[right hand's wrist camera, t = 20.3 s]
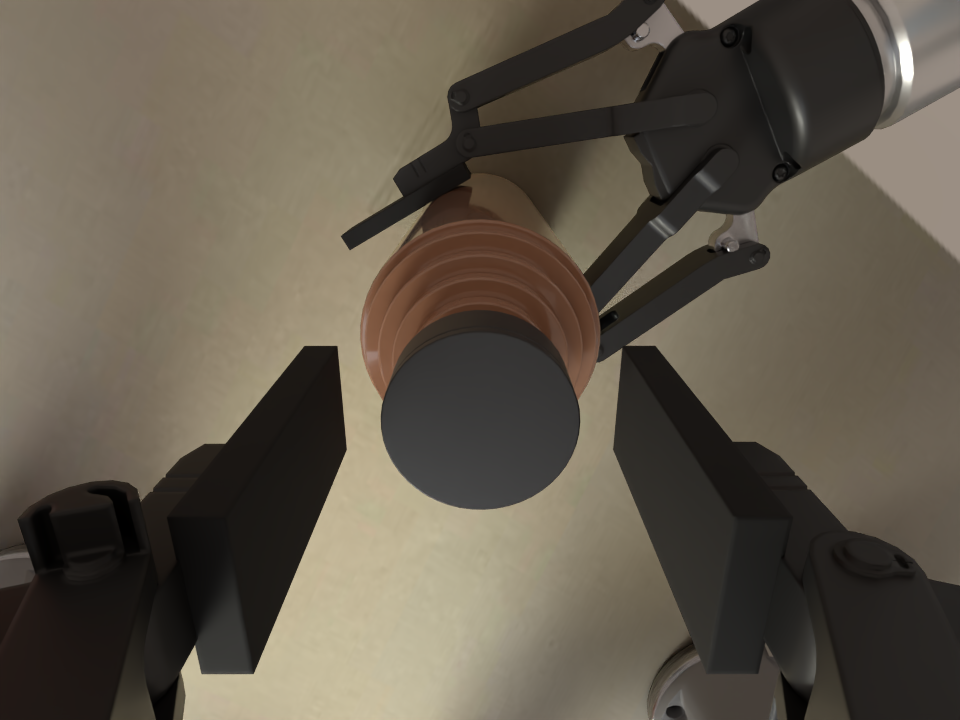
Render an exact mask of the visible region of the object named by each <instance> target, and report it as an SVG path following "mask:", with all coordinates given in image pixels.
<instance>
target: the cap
mask: <svg viewBox="0 0 960 720" xmlns="http://www.w3.org/2000/svg"><path fill="white" fill-rule="evenodd" d="M579 429H580V410H579V405H578V400H577V396H576V394H575V391H574V388H573V385H572V382H571V380H570V377H569V374H568V371H567V369H566V366H565V363H564V361H563V359H562V357H561V355H560V353H559V351H558V350H557V348H556V347H555V346H554V344H553V343H552V342H551V341H550V340H549V339H548V338H547V337H546V335H545V334H544V333H542V332H541V331H540V330H538V329H537V328H536V327H535V326H533V325H531V324H530V323H528V322H526V321H525V320H522V319H520V318H518V317H515V316H513V315H510V314H506V313H503V312H497V311H491V310H471V311H463V312H459V313H455V314H451V315H448V316H446V317H443V318H440V319H439V320H437V321H435V322H433V323H431V324H429V325H428V326H427V327H425V328H424V329H422V330H421V331H420V332H419V333H418V334H416V335H415V336H414V337H413V338H412V339H411V341H410V342H409V343H408V344H407V345H406V347H405V348H404V350H403V351H402V353H401V355H400V356H399V358H398V361H397V363H396V365H395V368H394V370H393V373H392V376H391V379H390V382H389V384H388V387H387V390H386V393H385V396H384V400H383V404H382V411H381V430H382V436H383V441H384V444H385V447H386V450H387V452H388V454H389V456H390V458H391V460H392V462H393V464H394V465H395V467H396V468H397V469H398V471H399V472H400V473H401V474H402V476H403V477H404V478H405V479H406V480H407V481H408V482H409V483H410V484H411V485H413V486H414V487H415V488H416V489H418V490H419V491H421V492H422V493H424V494H425V495H427V496H429V497H431V498H433V499H435V500H437V501H439V502H442V503H445V504H447V505H451V506H455V507H459V508H466V509H480V510H485V509H496V508H501V507H506V506H510V505H513V504H516V503H519V502H522V501H524V500H526V499H528V498H531V497H532V496H534V495H536V494H537V493H539V492H541V491H542V490H543V489H544V488H546V487H547V486H548V485H550V484H551V483H552V482H553V481H554V480H555V479H556V478H557V477H558V476H559V474H560V473H561V472H562V471H563V469H564V468H565V467H566V465H567V463H568V462H569V460H570V458H571V456H572V454H573V452H574V449H575V447H576V444H577V440H578V436H579Z"/></svg>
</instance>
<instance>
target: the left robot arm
mask: <svg viewBox="0 0 960 720" xmlns="http://www.w3.org/2000/svg"><path fill="white" fill-rule="evenodd" d="M664 1H665V0H623V1H622V2H621V3H620V4H619V5H618V6H617V7H616V8H615V9H613V10H612V11H611V12H610V13H609V14H608V15H606V16H604V17H602V18H600V19H597V20H595V21H593V22H591V23H588V24H586V25H584V26H582V27H579V28H577V29H575V30H573V31H570V32H568V33H566V34H564V35H561V36H559V37H557V38H555V39H553V40H550V41H548V42H546V43H544V44H541V45H539V46H537V47H535V48H532V49H530V50H528V51H526V52H523V53H521V54H519V55H517V56H515V57H512V58H510V59H508V60H506V61H503V62H501V63H499V64H497V65H494V66H492V67H490V68H488V69H485V70H483V71H481V72H479V73H476V74H474V75H472V76H470V77H468V78H465V79H463V80H461V81H459V82H456V83H455V84H453V85H452V86H451V87H450V89H449V91H448V96H447V98H448V103H449V108H450V114H451V119H452V132H451V134H450V136H449V138H448V139H447V140H446V141H445V142H443V143H442V144H440V145H438V146H437V147H435V148H433V149H432V150H430V151H429V152H427V153H425V154H424V155H422V156H420V157H419V158H417V159H416V160H414V161H412V162H411V163H409V164H407V165H406V166H404V167H402V168H401V169H400V170H399V171H398V172H397V174H396V175H395V177H394V178H393V180H394V181H395V183H396V185H397V186H398V188H399V190H400V191H401V193H402V195H403V197H402V198H400V199H398V200H397V201H395V202H393V203H392V204H390V205H388V206H387V207H385V208H383V209H382V210H380V211H378V212H377V213H375V214H373V215H372V216H370V217H368V218H367V219H365V220H363V221H362V222H360V223H358V224H357V225H355V226H354V227H352V228H351V229H349V230H348V231H347V232H345V233H344V234H343V235H342V236H341V237H342V239H343V240H344V242H345V243H346V245H347V247H348V248H349V250H351V249H353V248H354V247H356V246H358V245H359V244H361V243H363V242H365V241H366V240H368V239H370V238H371V237H373V236H375V235H376V234H378V233H380V232H381V231H383V230H385V229H386V228H388V227H390V226H391V225H393V224H395V223H396V222H398V221H400V220H401V219H403V218H405V217H407V216H408V215H410V214H412V213H413V212H415V211H417V210H418V209H420V208H422V207H423V206H425V205H427V204H428V203H430V202H432V201H433V200H435V199H437V198H438V197H440V196H442V195H444V194H445V193H447V192H449V191H450V190H452V189H454V188H455V187H457V186H459V185H460V184H462V183H464V182H465V181H467V180H469V179H470V178H471V173H470V171H469V169H468V167H467V165H466V163H465V162H466V161H467V160H469V159H471V158H473V157H479V156H486V155H492V154H499V153H505V152H512V151H518V150H525V149H531V148H538V147H544V146H551V145H557V144H564V143H570V142H577V141H583V140H590V139H596V138H603V137H609V136H618V135H625V134H626V135H625V136H624V139H625V141H626V143H627V145H628V147H629V150H630V152H631V153H632V154H633V155H634V156H635V157H636V159H637V160H638V161H639V162H640V163H641V167H642V173H643V179H644V183H645V185H646V187H647V189H648V191H649V194H650V195H649V197H648V198H647V199H646V200H645V201H644V202H643V203H642V205H641V206H640V207H639V209H638V211H637V213H636V215H635V216H634V218H633V219H632V220H631V221H630V222H629V223H628V224H627V226H626V227H625V228H624V229H623V230H622V231H621V232H620V233H619V235H618V236H617V237H616V238H615V239H614V240H613V241H612V243H611V244H610V245H609V246H608V247H607V248H606V249H605V250H604V252H603V253H602V254H601V255H600V256H599V257H598V258H597V260H596V261H595V262H594V263H593V264H592V265H591V266H590V267H589V269H588V270H587V271H586V272H585V273H584V274H583V275H584V277H585V278H586V280H587V282H588V283H589V286H590V288H591V291H592V293H593V295H594V298H595V301H596V305H597V309H598V312H600V311H601V310H602V309H603V308H604V307H605V306H606V304H607V303H608V302H609V301H610V300H611V299H612V298H613V297H614V296H615V295H616V293H617V292H618V291H619V290H620V289H621V288H622V287H623V286H624V285H625V284H626V283H627V281H628V280H629V279H630V278H631V277H632V276H633V275H634V274H635V273H636V272H637V270H638V269H639V268H640V267H641V266H642V265H643V264H644V263H645V262H646V261H647V260H648V258H649V257H650V256H651V255H652V254H653V253H654V252H655V251H656V250H657V249H658V247H659V246H660V245H661V244H662V243H663V242H664V241H665V240H666V239H667V238H668V237H670V236H673V235H674V234H675V233H677V232H678V231H679V230H680V229H681V228H682V227H683V225H684V224H685V223H686V222H687V221H688V220H689V219H690V218H691V217H692V216H693V215H694V213H695V212H696V211H703V212H712V213H721V214H726V220H725V222H724V224H723V225H722V226H721V227H720V228H719V229H717V230H716V231H714V232H713V233H712V234H711V235H710V237H709V240H708V245H705V246H703V247H701V248H699V249H696V250H694V251H693V252H691V253H690V254H688V255H686V256H685V257H683V258H682V259H681V260H679V261H678V262H676V263H675V264H673V265H672V266H670V267H669V268H668V269H666V270H665V271H663V272H662V273H660V274H659V275H658V276H656V277H655V278H653V279H652V280H650V281H649V282H647V283H646V284H645V285H643V286H642V287H640V288H639V289H637V290H636V291H634V292H633V293H632V294H630V295H629V296H627V297H626V298H624V299H623V300H622V301H620V302H619V303H617V304H616V305H614V306H613V307H611V308H610V309H609V310H607V311H606V312H604V313H603V314H601V315H600V316H599V321H600V346H599V352H598V358H597V361H596V362H601V361H603V360H605V359H606V358H608V357H609V356H611V355H612V354H614V353H615V352H617V351H618V350H620V349H621V348H623V346H626V345H627V344H629V343H630V342H632V341H633V340H634V339H636V338H637V337H639V336H640V335H642V334H643V333H645V332H646V331H648V330H649V329H651V328H652V327H654V326H655V325H657V324H658V323H660V322H661V321H663V320H664V319H666V318H667V317H669V316H670V315H672V314H673V313H675V312H676V311H678V310H679V309H680V308H682V307H683V306H685V305H686V304H688V303H689V302H691V301H692V300H694V299H695V298H697V297H698V296H700V295H701V294H703V293H704V292H706V291H707V290H709V289H710V288H712V287H713V286H715V285H716V284H718V283H719V282H721V281H722V280H724V279H726V278H730V277H733V276H736V275H740V274H743V273H747V272H750V271H753V270H757V269H760V268H762V267H764V266H765V265H766V264H767V263H768V261H769V259H770V251H769V249H768V248H767V247H766V246H765V245H763V244H760V243H759V240H758V233H757V226H756V220H755V213H754V210H755V209H756V208H757V207H758V206H759V205H760V204H761V203H762V202H763V200H764V199H765V198H766V196H767V195H768V194H769V193H770V192H771V191H772V190H773V189H774V188H775V187H777V186H778V185H780V184H781V183H783V182H785V181H787V180H789V179H791V178H794V177H795V176H797V175H799V174H801V173H803V172H805V171H807V170H809V169H810V168H812V167H814V166H816V165H818V164H820V163H821V162H823V161H825V160H827V159H829V158H831V157H833V156H834V155H836V154H838V153H840V152H842V151H844V150H846V149H847V148H849V147H851V146H853V145H855V144H857V143H859V142H860V141H862V140H864V139H866V138H867V137H868V136H869V135H870V134H871V132H872V131H873V130H874V129H883V128H886V127H889V126H891V125H893V124H895V123H897V122H899V121H900V120H902V119H904V118H906V117H908V116H909V115H911V114H913V113H915V112H917V111H918V110H920V109H922V108H924V107H926V106H927V105H929V104H931V103H933V102H935V101H936V100H938V99H940V98H942V97H943V96H945V95H947V94H949V93H951V92H953V91H954V90H956V89H958V88H960V0H759V1H757V2H756V3H754V4H752V5H751V6H749V7H747V8H746V9H744V10H742V11H741V12H739V13H737V14H735V15H734V16H732V17H730V18H729V19H727V20H725V21H724V22H722V23H720V24H719V25H717V26H715V27H713V28H712V29H709V30H704V31H687V32H684V31H683V30H682V28H681V27H680V26H679V24H678V23H677V21H676V20H675V18H674V17H673V15H672V14H671V13H670V11H669V10H668V8H667V7H666V5H665V4H664ZM618 43H621V44H622V46H623V47H624V48H625V49H627V50H629V51H637V50H639V49H641V48H643V47H645V46H653V47H655V48H656V49H657V50H658V51H659V54H658V56H657V58H656V60H655V62H654V64H653V66H652V68H651V70H650V72H649V74H648V76H647V78H646V80H645V82H644V84H643V86H642V88H641V90H640V92H639V94H638V96H637V98H636V100H635V102H634V103H630V104H624V105H618V106H611V107H605V108H599V109H592V110H586V111H580V112H573V113H567V114H560V115H554V116H548V117H541V118H535V119H528V120H522V121H516V122H509V123H503V124H496V125H490V126H484V127H480V122H479V116H478V110H477V108H479V107H481V106H483V105H486V104H488V103H490V102H492V101H495V100H497V99H499V98H502V97H504V96H506V95H508V94H511V93H513V92H515V91H518V90H520V89H522V88H524V87H527V86H529V85H531V84H534V83H536V82H538V81H540V80H543V79H545V78H547V77H549V76H552V75H554V74H556V73H559V72H561V71H563V70H565V69H568V68H570V67H572V66H575V65H577V64H579V63H581V62H584V61H586V60H588V59H591V58H593V57H595V56H597V55H599V54H601V53H603V52H605V51H607V50H609V49H610V48H612V47H613V46H615V45H617V44H618ZM779 670H780V668H779V666H778V664H777V662H776V661H775V659H774V657H773V655H772V653H771V652H770V650H769V648H768V646H767V644H766V643H765V646H764V651H763V655H762V660H761V664H760V669H759V673H758V674H706V672H705V669H704V667H703V665H702V662H701V660H700V657H699V655H698V653H697V650H696V648H695V645H694V643H693V644H691V645H689V646H688V647H686V648H685V649H683V650H682V651H680V652H679V653H678V654H676V655H675V656H674V657H673V658H672V659H671V660H670V661H669V662H667V664H666V665H665V666H664V667H663V668H662V669H661V671H660V672H659V673H658V675H657V677H656V678H655V680H654V682H653V684H652V686H651V689H650V692H649V696H648V702H647V710H648V717H649V720H768V716H769V712H770V708H771V704H772V699H773V695H774V691H775V687H776V683H777V679H778V674H779Z"/></svg>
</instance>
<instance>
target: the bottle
mask: <svg viewBox="0 0 960 720" xmlns="http://www.w3.org/2000/svg"><path fill="white" fill-rule="evenodd" d="M471 310H491V311H497V312H503V313H506V314H510V315H513V316H515V317H518V318H520V319H522V320H525V321H526V322H528V323H530V324H531V325H533V326H535V327H536V328H537V329H538V330H540V331H541V332H542V333H544V334H545V335H546V337H547V338H548V339H549V340H550V341H551V342H552V343H553V344H554V346H555V347H556V348H557V350H558V351H559V353H560V355H561V357H562V359H563V361H564V363H565V366H566V369H567V371H568V374H569V377H570V380H571V382H572V385H573V388H574V391H575V394H576V396H577V400H578V399H579V397H580V396H581V394H582V393H583V391H584V389H585V388H586V386H587V384H588V382H589V380H590V378H591V376H592V373H593V371H594V368H595V364H596V361H597V358H598V352H599V346H600V321H599V312H598V309H597V305H596V301H595V298H594V295H593V293H592V291H591V288H590V286H589V283H588V282H587V280H586V278H585V277H584V275H583V273H582V272H581V270H580V269H579V267H578V266H577V265H576V263H575V262H574V260H573V259H572V257H571V256H570V255H569V253H568V252H567V250H566V249H565V248H564V246H563V245H562V243H561V242H560V241H559V239H558V238H557V236H556V235H555V234H554V232H553V231H552V229H551V228H550V226H549V225H548V224H547V222H546V221H545V219H544V218H543V217H542V215H541V214H540V212H539V211H538V210H537V208H536V207H535V205H534V204H533V202H532V201H531V200H530V198H529V197H528V196H527V195H526V193H525V192H524V191H523V190H522V189H520V188H519V187H518V186H517V185H515V184H514V183H513V182H511V181H509V180H507V179H505V178H503V177H500V176H497V175H493V174H486V173H474V174H471V178H470V179H469V180H467V181H465V182H464V183H462V184H460V185H459V186H457V187H455V188H454V189H452V190H450V191H449V192H447V193H445V194H444V195H442V196H440V197H438V198H437V199H435V200H433V201H432V202H430V203H428V204H427V205H426V206H425V207H424V209H423V210H422V212H421V213H420V214H419V216H418V217H417V219H416V220H415V222H414V223H413V224H412V226H411V227H410V229H409V230H408V231H407V233H406V234H405V236H404V237H403V239H402V240H401V241H400V243H399V244H398V246H397V247H396V248H395V250H394V251H393V253H392V254H391V256H390V257H389V258H388V260H387V261H386V263H385V264H384V266H383V267H382V268H381V270H380V272H379V273H378V275H377V276H376V278H375V279H374V281H373V283H372V285H371V288H370V290H369V292H368V294H367V297H366V300H365V304H364V307H363V311H362V318H361V327H360V340H361V348H362V355H363V359H364V362H365V366H366V369H367V372H368V374H369V376H370V379H371V381H372V383H373V385H374V386H375V388H376V390H377V391H378V393H379V395H380V396H381V398H382V400H384V396H385V393H386V390H387V387H388V384H389V382H390V379H391V376H392V373H393V370H394V368H395V365H396V363H397V361H398V358H399V356H400V355H401V353H402V351H403V350H404V348H405V347H406V345H407V344H408V343H409V342H410V341H411V339H412V338H413V337H414V336H415V335H416V334H418V333H419V332H420V331H421V330H422V329H424V328H425V327H427V326H428V325H429V324H431V323H433V322H435V321H437V320H439V319H440V318H443V317H446V316H448V315H451V314H455V313H459V312H463V311H471Z"/></svg>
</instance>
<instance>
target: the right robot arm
mask: <svg viewBox="0 0 960 720" xmlns="http://www.w3.org/2000/svg"><path fill="white" fill-rule="evenodd" d="M346 450H347V447H346V436H345V425H344V414H343V403H342V392H341V381H340V370H339V359H338V348H337V346H304V347H303V349H302V350H301V351H300V352H299V354H298V355H297V356H296V357H295V359H294V360H293V361H292V362H291V364H290V365H289V366H288V367H287V368H286V370H285V371H284V372H283V373H282V375H281V376H280V377H279V378H278V380H277V381H276V382H275V383H274V385H273V386H272V387H271V388H270V390H269V391H268V392H267V393H266V395H265V396H264V397H263V398H262V399H261V401H260V402H259V403H258V404H257V406H256V407H255V408H254V409H253V411H252V412H251V413H250V414H249V416H248V417H247V418H246V419H245V421H244V422H243V423H242V424H241V426H240V427H239V428H238V429H237V430H236V432H235V433H234V434H233V435H232V437H231V438H230V439H229V440H228V442H227V443H226V444H204V445H202V446H200V447H199V448H197V449H195V450H194V451H192V452H190V453H189V454H187V455H185V456H183V457H182V458H180V460H179V461H178V462H177V463H176V464H175V465H174V466H173V467H172V468H171V469H170V471H169V472H168V473H167V474H166V478H162V479H161V480H160V482H159V483H158V484H157V485H156V486H155V487H154V488H153V492H150V493H149V494H148V495H147V496H146V497H145V498H144V499H143V500H142V501H141V503H140V499H139V495H138V490H137V489H136V488H135V487H133V486H132V485H130V484H129V483H126V482H120V481H114V480H109V481H95V482H89V483H85V484H80V485H76V486H72V487H68V488H66V489H63V490H61V491H58V492H56V493H54V494H51V495H49V496H47V497H45V498H43V499H42V500H40V501H38V502H37V503H35V504H33V505H32V506H30V507H29V508H28V509H27V510H26V511H25V512H24V513H23V514H22V515H21V516H20V517H19V518H18V519H17V520H18V523H19V526H20V529H21V532H22V535H23V538H24V541H25V544H23V545H18V546H13V547H10V548H7V549H4V550H2V551H0V720H183V712H184V704H185V689H184V683H183V679H182V674H181V669H182V667H183V666H184V664H185V662H186V660H187V658H188V657H189V655H190V653H191V651H192V649H193V647H194V646H196V651H197V655H198V660H199V664H200V669H201V673H202V674H254V672H255V669H256V667H257V665H258V662H259V660H260V657H261V655H262V653H263V650H264V648H265V645H266V643H267V641H268V638H269V636H270V633H271V631H272V629H273V626H274V624H275V621H276V619H277V616H278V614H279V612H280V609H281V607H282V604H283V602H284V600H285V597H286V595H287V592H288V590H289V588H290V585H291V583H292V580H293V578H294V576H295V573H296V571H297V568H298V566H299V563H300V561H301V559H302V556H303V554H304V551H305V549H306V547H307V544H308V542H309V539H310V537H311V535H312V532H313V530H314V527H315V525H316V523H317V520H318V518H319V515H320V513H321V510H322V508H323V506H324V503H325V501H326V498H327V496H328V494H329V491H330V489H331V486H332V484H333V482H334V479H335V477H336V474H337V472H338V469H339V467H340V465H341V462H342V460H343V457H344V455H345V453H346ZM613 450H614V453H615V455H616V457H617V460H618V462H619V465H620V467H621V470H622V472H623V474H624V477H625V479H626V482H627V484H628V486H629V489H630V491H631V494H632V496H633V498H634V501H635V503H636V506H637V508H638V510H639V513H640V515H641V518H642V520H643V523H644V525H645V527H646V530H647V532H648V535H649V537H650V539H651V542H652V544H653V547H654V549H655V551H656V554H657V556H658V559H659V561H660V563H661V566H662V568H663V571H664V573H665V576H666V578H667V580H668V583H669V585H670V588H671V590H672V592H673V595H674V597H675V600H676V602H677V604H678V607H679V609H680V612H681V614H682V616H683V619H684V621H685V624H686V626H687V629H688V631H689V633H690V636H691V638H692V641H693V643H694V645H695V648H696V650H697V653H698V655H699V657H700V660H701V662H702V665H703V667H704V669H705V672H706V674H758V673H759V669H760V664H761V660H762V655H763V651H764V646H765V643H766V644H767V646H768V648H769V650H770V652H771V653H772V655H773V657H774V659H775V661H776V662H777V664H778V666H779V668H780V670H779V674H778V679H777V683H776V687H775V691H774V695H773V699H772V704H771V708H770V712H769V716H768V720H960V586H959V585H954V584H949V583H944V582H939V581H935V580H931V579H928V578H927V576H926V574H925V573H924V571H923V570H922V569H921V568H920V566H919V565H918V564H917V563H916V561H915V560H914V559H913V558H911V557H910V556H908V555H907V554H906V553H904V552H903V551H901V550H900V549H899V548H897V547H895V546H893V545H891V544H889V543H887V542H884V541H882V540H880V539H878V538H876V537H872V536H868V535H865V534H861V533H857V532H852V531H848V530H847V529H846V528H845V527H844V526H843V525H842V524H841V523H840V522H839V520H838V519H837V518H836V517H835V516H834V515H833V514H832V513H831V512H830V511H829V510H828V508H827V507H826V506H825V505H824V504H823V503H822V502H821V501H820V500H819V499H818V498H817V496H816V495H815V494H814V493H813V492H812V491H811V490H807V485H806V484H805V483H804V482H803V481H802V480H801V479H800V478H799V477H798V476H795V472H794V471H793V470H792V469H791V468H790V467H789V466H788V465H787V464H786V463H785V461H784V460H783V459H782V458H781V457H780V456H779V455H777V454H775V453H774V452H772V451H770V450H768V449H767V448H765V447H763V446H762V445H760V444H758V443H757V442H732V440H731V439H730V438H729V437H728V435H727V434H726V433H725V432H724V430H723V429H722V428H721V427H720V426H719V424H718V423H717V422H716V421H715V419H714V418H713V417H712V416H711V414H710V413H709V412H708V411H707V409H706V408H705V407H704V406H703V404H702V403H701V402H700V401H699V399H698V398H697V397H696V396H695V395H694V393H693V392H692V391H691V390H690V388H689V387H688V386H687V385H686V383H685V382H684V381H683V380H682V378H681V377H680V376H679V375H678V373H677V372H676V371H675V370H674V368H673V367H672V366H671V365H670V364H669V362H668V361H667V360H666V359H665V357H664V356H663V355H662V354H661V352H660V351H659V350H658V349H657V347H656V346H623V348H622V359H621V370H620V381H619V392H618V403H617V414H616V425H615V436H614V447H613Z"/></svg>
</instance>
